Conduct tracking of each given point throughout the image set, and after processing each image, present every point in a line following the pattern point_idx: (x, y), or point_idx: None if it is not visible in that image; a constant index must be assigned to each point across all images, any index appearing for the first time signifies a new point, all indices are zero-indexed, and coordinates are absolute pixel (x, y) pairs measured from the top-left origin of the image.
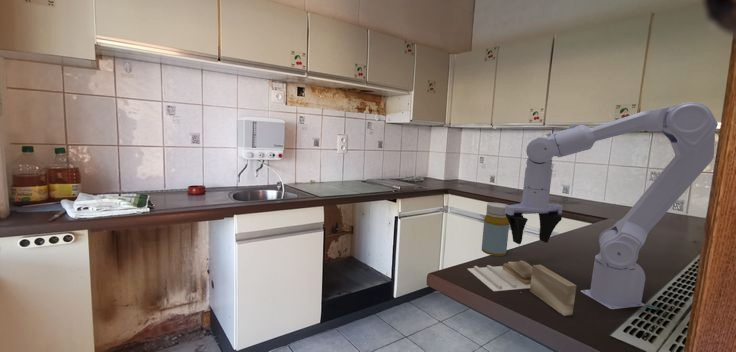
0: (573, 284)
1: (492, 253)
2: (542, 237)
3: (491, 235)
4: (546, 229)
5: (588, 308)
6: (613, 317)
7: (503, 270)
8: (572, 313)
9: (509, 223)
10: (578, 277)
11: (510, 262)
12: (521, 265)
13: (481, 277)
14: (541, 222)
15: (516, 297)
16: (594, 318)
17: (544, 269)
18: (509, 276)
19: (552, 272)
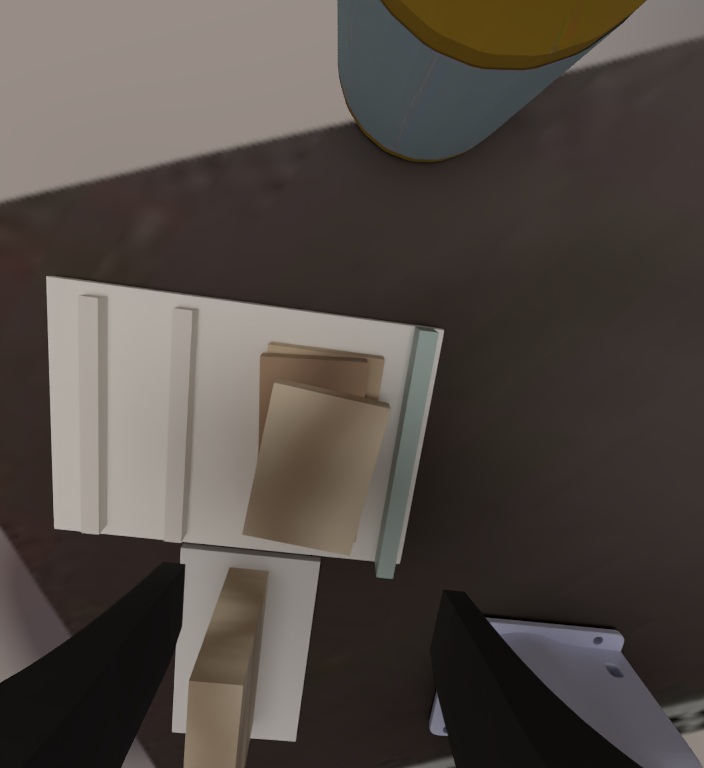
0: None
1: (362, 127)
2: (444, 641)
3: (356, 43)
4: (472, 755)
5: (370, 692)
6: (399, 745)
7: (259, 363)
8: (251, 729)
9: (2, 685)
10: (608, 510)
11: (282, 396)
12: (318, 449)
13: (72, 400)
14: (512, 747)
15: (148, 570)
16: (327, 735)
17: (212, 732)
18: (239, 432)
19: (227, 765)
